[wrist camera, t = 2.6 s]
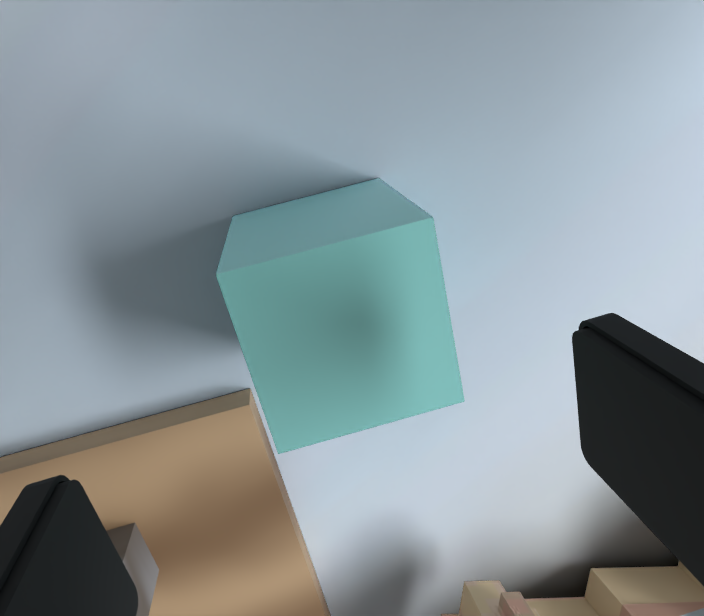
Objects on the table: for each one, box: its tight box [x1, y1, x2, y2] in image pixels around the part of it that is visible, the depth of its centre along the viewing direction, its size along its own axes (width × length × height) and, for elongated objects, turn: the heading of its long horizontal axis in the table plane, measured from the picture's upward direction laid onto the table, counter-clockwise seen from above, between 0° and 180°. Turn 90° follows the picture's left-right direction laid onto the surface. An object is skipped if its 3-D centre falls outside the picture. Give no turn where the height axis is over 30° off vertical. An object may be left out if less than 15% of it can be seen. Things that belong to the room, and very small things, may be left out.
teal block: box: [216, 178, 464, 454], centre depth 16 cm, size 5×5×7 cm
